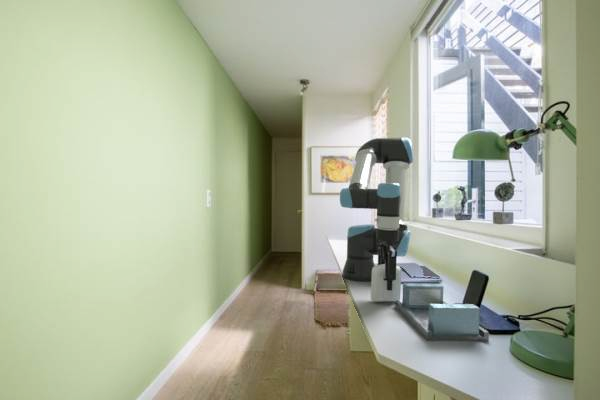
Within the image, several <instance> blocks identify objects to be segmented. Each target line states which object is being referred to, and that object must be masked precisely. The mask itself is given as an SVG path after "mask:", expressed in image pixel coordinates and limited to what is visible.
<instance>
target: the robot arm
mask: <svg viewBox="0 0 600 400" xmlns="http://www.w3.org/2000/svg"><path fill="white" fill-rule="evenodd" d="M412 146H413V145H412V140H411V139H410V138H409V137H387V138H385V137H384V138H383V137H382V138H381V137H380V138H373V139H370V140H368V141H367V142H365V143H364V144H363V145H361V146H360V147H359V148H358V149H357V151H356V153H355V157H354V159H355V165H354V167H353V171H352V174H351V178H350V181H349V185H348V187H346V188H342V189H341V190H340V192H339V203H340V206H341V207H342V208H347V209H366V210H367V209H368V210H371V209H372V210H376V218H375V219H374V220H375V222H376V226H375V225H374V224H357V225H352V226H350V227H348V229H347V236H346V237H347V239H346V242H347V244H346V245H347V246H346V247H347V249H346V260H345V264H344V266H343V269H342V277H343V278H345V279H347V280H352V281H357V282H358V281H359V282H369V281H370V282H371V278H372V268H373V267H374V266H376V265H375V262H374V255H375V256H377V265H381V264H385V277H386V278H385V279H383V280H384V300H393V280H396V266H397V259H398V258H397V257H402V258H403V257H406V255H407V254H408V249H409V244H410V239H411V233H412V232H411V230H410V229H408V224H406V223H405V201H406V200H405V198H406V196H405V195H406V173H407V172H406V170H408V169H409V168H410V164H412V163H413V162H414V161H413V160H414V157H413V147H412ZM376 164H382V167H383V168H384V169H385V182H381V183H378V184H377V188H369V185H370V181H371V176H372V171H373V167H374V166H375V165H376Z"/></svg>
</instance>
